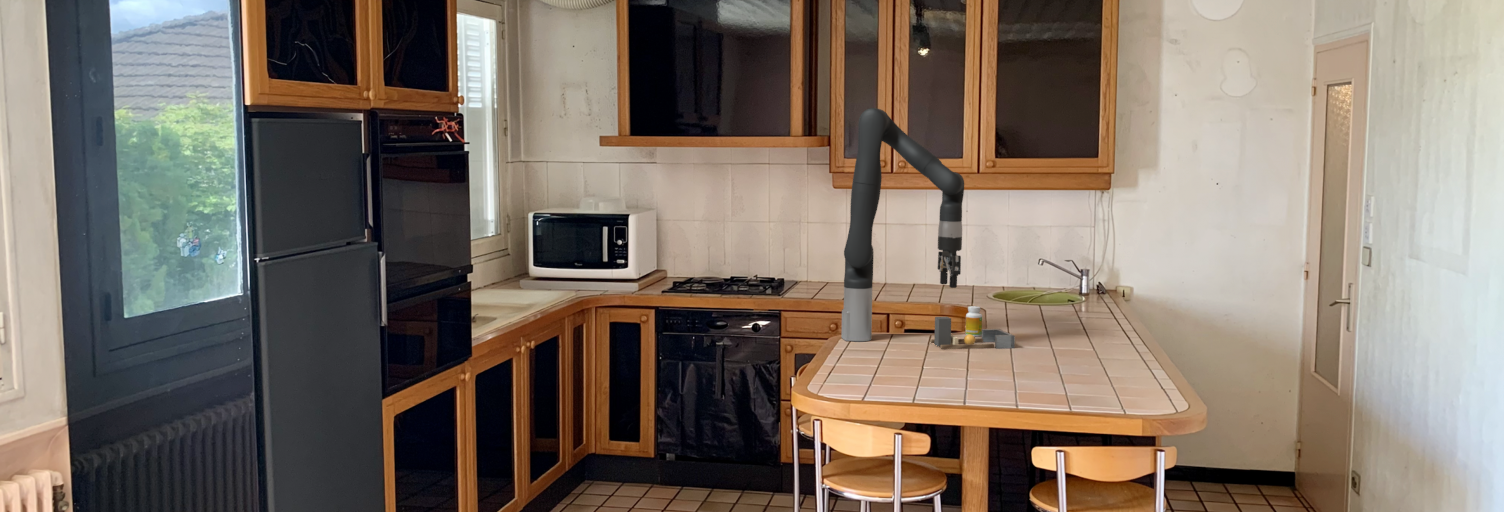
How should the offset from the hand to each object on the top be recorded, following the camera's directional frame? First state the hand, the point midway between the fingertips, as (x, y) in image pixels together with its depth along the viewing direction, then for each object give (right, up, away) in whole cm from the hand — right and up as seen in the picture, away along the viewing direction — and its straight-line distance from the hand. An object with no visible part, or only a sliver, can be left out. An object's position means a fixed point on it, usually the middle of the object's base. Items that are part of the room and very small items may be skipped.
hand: (948, 285), depth 369 cm
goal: (+16, -19, +3) cm, 25 cm away
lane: (+4, -19, +1) cm, 20 cm away
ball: (+7, -17, +1) cm, 19 cm away
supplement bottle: (+12, -17, +20) cm, 29 cm away
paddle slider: (-2, -19, 0) cm, 19 cm away
